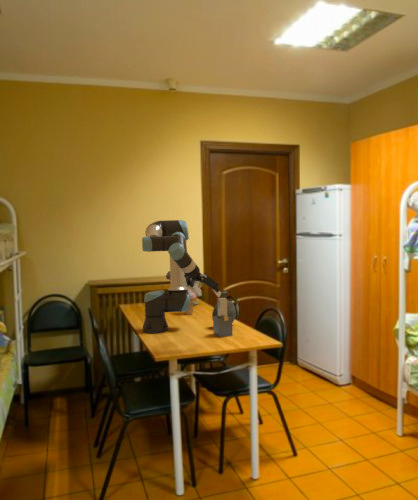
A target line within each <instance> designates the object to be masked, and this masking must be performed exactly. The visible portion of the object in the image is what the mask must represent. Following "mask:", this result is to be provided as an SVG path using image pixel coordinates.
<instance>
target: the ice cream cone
mask: <svg viewBox="0 0 418 500" xmlns="http://www.w3.org/2000/svg"><path fill="white" fill-rule="evenodd" d="M188 291H189V292H190V304H189V309H188V310H187V311H184V313H185V315H186V316H191V315H193V313H194V306H195V305H194V303H195V302H196V301H197V298H198V296H197V297H196V294H195V293H193V292H191V289H188ZM195 299H196V300H195Z"/></svg>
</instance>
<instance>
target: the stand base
mask: <svg viewBox="0 0 418 500" xmlns="http://www.w3.org/2000/svg"><path fill="white" fill-rule="evenodd" d="M212 321H213V322H212V323H213V327H212V328H213V335H215V336H216V337H217V338H225V337H231V336H233V323H232V317H230V316H228V315H227V316H226V317H223V318H218V316H213V319H212Z"/></svg>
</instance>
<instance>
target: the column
mask: <svg viewBox="0 0 418 500" xmlns="http://www.w3.org/2000/svg"><path fill="white" fill-rule="evenodd" d="M227 300H228V298H221V297H217V303H218V318H223V317H226V316H227Z"/></svg>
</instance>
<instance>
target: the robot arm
mask: <svg viewBox="0 0 418 500" xmlns="http://www.w3.org/2000/svg"><path fill="white" fill-rule="evenodd" d="M189 236H190V235H189V230H188V223H187V221H186V220H183V219H182V220H181V219H176V220H173V219H172V220H171V219H170V220H169V219H168V220H157V221H154V222H151V223H150V224H148V225H147V227H146V228H145V236H142V239H141V242H142V243H141V244H142V245H141V246H142V248H141V249H142V251H143V252H147V253H148V252H149V253H152V252H168V254H169V271H170V280H169V281H170V282H169V283H170V285H169V288H168V289H167V292H166V291H165V290H164V289H157V290H152V291H148V292H147V293H145V294H144V301H143V302H144V322H143V324H142V332H143V333H146V334H162V333H165V332H167V331H169V325H168V322H167V319H166V313H182V312H184V313H185V311H187V310H188V309H189V304H190V292H189V291H188V289H187V288H186V287H185V278H186V282H187V286H189V285H190V286H191V287H192V288H193V289H194V290H195V291H196V292H197V294H198V295H200V293H202V290H201V288H199V286H197V284H196V283H195V281H199V282H200V283H201V284H205V285H206V286H208V287H209V288H211V290H212V292H213V293H214V294H215V295H216V296H217V298H221V292H222V291H220V289H219V285H220V284H219V283H218V282H217V281H215V280H214V279H213V278H212V277H210V276H209V275H208V274H207V273H205V272H204V273H203V274H202V273H201V272H200V271H201V270H200V267H199V266H198V265H197V264H196V262H195V261H194V259H193V258H192V256H191V255H190V254H189V253H188V249H187V241H188V240H189V239H190V238H189ZM190 278H191V279H190ZM194 283H195V284H194Z"/></svg>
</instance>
